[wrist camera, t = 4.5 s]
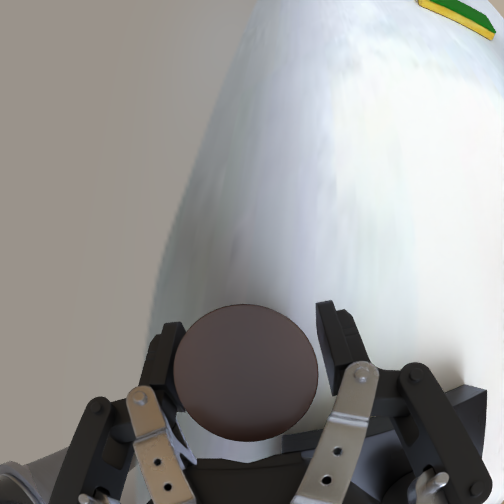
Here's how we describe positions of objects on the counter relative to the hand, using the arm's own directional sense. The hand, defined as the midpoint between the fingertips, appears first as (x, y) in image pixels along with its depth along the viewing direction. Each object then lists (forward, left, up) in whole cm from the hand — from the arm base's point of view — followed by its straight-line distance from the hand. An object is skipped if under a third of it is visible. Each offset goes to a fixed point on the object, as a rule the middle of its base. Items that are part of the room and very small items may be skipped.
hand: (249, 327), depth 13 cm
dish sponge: (+39, +39, -6) cm, 56 cm away
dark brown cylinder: (0, -2, -5) cm, 6 cm away
